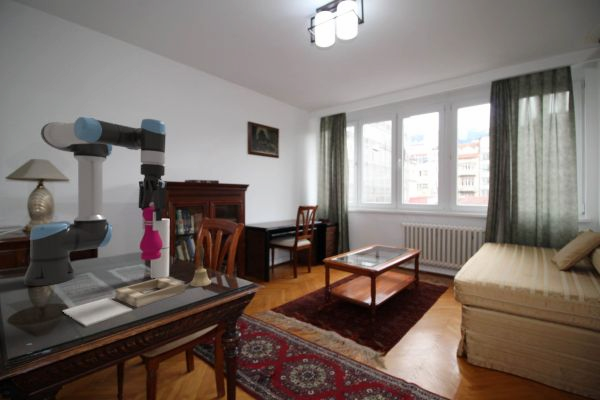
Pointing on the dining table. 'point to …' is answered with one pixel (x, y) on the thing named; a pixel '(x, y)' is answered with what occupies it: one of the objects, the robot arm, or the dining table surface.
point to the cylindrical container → (162, 253)
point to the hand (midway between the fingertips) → (151, 229)
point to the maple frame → (138, 299)
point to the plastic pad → (97, 311)
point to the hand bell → (200, 271)
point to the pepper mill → (150, 237)
